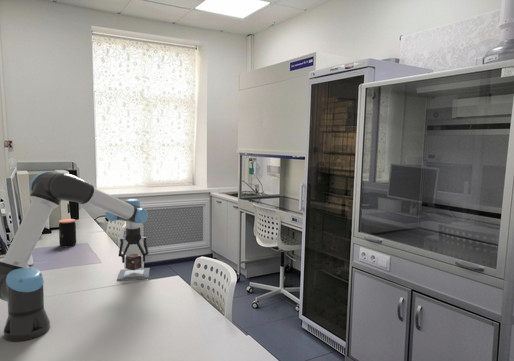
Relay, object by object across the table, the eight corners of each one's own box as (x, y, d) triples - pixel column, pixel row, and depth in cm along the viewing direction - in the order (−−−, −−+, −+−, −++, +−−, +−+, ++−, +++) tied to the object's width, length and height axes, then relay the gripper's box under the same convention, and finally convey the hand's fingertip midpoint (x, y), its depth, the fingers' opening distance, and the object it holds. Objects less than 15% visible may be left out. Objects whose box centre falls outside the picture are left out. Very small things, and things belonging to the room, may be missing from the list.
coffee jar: (60, 244, 269) (59, 219, 267) (76, 242, 273) (75, 218, 271) (59, 247, 259) (58, 222, 257) (76, 246, 263) (75, 221, 262)
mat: (148, 278, 201) (148, 277, 201) (116, 280, 197) (116, 279, 197) (149, 269, 217) (149, 267, 217) (120, 270, 213) (120, 269, 213)
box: (125, 268, 205) (125, 255, 205) (133, 265, 211) (133, 253, 210) (133, 270, 203) (133, 257, 202) (142, 267, 208) (141, 254, 207)
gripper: (153, 225, 211) (153, 264, 213) (113, 226, 206) (114, 266, 208) (152, 228, 203) (153, 268, 205) (111, 229, 199) (112, 271, 201)
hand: (134, 267), depth 207 cm, fingers closed on box, 8 cm apart
